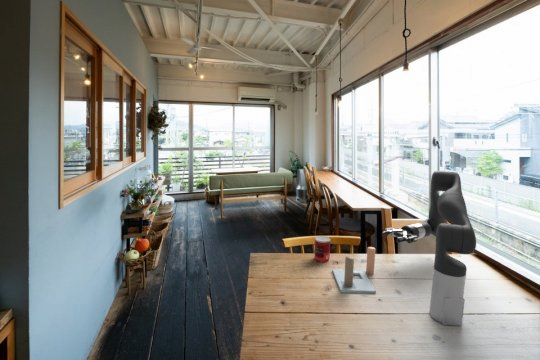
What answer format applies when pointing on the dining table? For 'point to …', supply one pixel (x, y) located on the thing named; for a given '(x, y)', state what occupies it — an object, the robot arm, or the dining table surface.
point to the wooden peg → (370, 260)
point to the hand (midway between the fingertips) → (389, 237)
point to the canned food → (322, 249)
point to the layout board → (358, 282)
